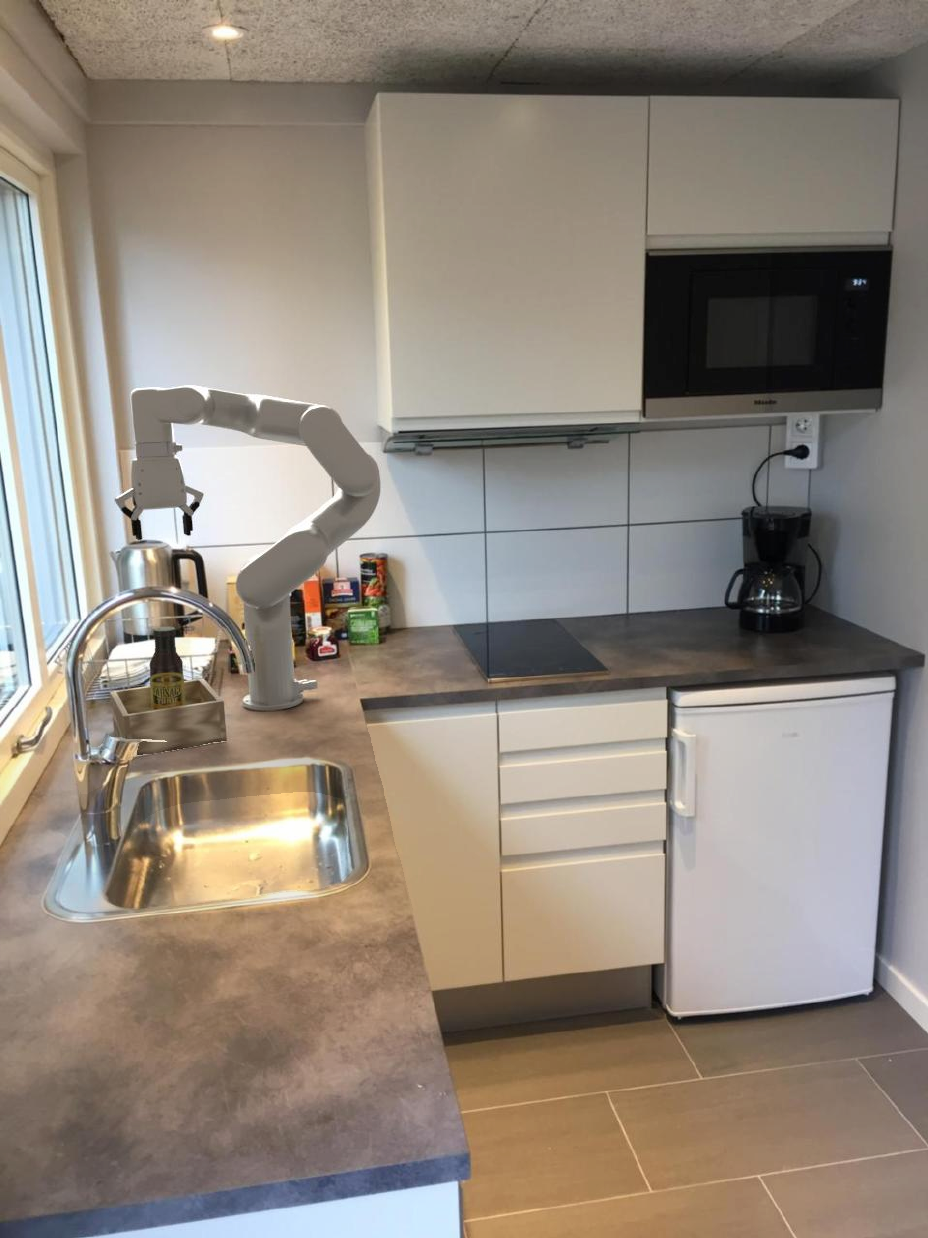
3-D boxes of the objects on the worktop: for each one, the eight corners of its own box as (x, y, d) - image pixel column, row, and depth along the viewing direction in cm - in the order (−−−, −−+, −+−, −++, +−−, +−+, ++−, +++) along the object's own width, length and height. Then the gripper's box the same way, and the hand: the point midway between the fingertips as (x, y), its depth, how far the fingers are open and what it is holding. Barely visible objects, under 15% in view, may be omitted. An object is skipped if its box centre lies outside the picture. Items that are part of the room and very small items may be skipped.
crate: (206, 716, 206) (203, 678, 204) (227, 741, 190) (223, 701, 188) (114, 730, 198) (110, 691, 196) (127, 758, 182) (123, 716, 180)
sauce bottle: (152, 736, 190) (142, 633, 186) (153, 726, 196) (143, 626, 192) (188, 732, 192) (179, 630, 187) (188, 722, 198) (179, 623, 193)
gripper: (194, 448, 207) (201, 531, 211) (107, 453, 199) (115, 538, 203) (203, 449, 201) (210, 535, 205) (113, 454, 193) (122, 543, 197)
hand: (163, 537), depth 204 cm, fingers open, 9 cm apart
